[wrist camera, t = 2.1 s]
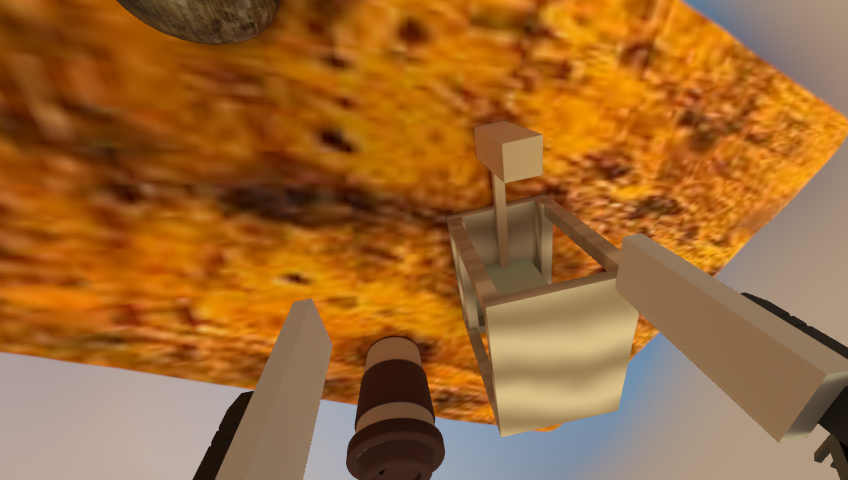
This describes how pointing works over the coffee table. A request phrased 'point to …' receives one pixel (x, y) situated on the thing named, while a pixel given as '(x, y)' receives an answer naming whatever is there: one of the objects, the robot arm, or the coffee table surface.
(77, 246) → the coffee table surface
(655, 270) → the robot arm
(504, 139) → the tethered block
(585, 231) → the frame
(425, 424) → the coffee cup
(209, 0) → the seashell
